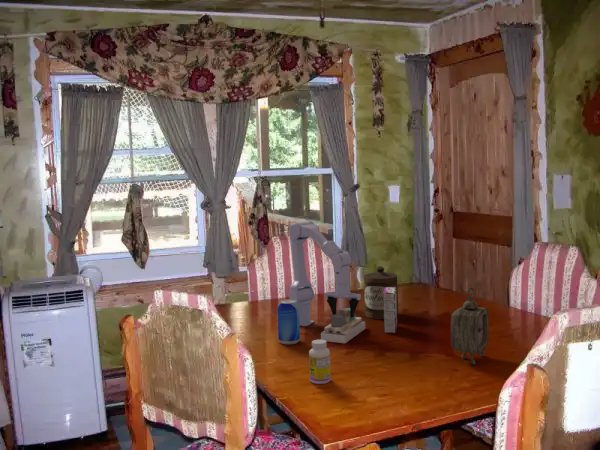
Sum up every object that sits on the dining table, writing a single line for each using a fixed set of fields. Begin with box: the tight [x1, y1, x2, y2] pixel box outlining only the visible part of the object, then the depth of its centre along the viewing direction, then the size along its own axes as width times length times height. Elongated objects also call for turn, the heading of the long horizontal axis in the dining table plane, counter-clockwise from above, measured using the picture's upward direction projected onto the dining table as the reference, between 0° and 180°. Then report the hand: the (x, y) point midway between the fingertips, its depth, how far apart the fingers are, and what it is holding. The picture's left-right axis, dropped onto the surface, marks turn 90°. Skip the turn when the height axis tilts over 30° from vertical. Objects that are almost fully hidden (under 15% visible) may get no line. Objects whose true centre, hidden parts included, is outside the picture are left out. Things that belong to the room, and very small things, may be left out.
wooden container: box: [363, 266, 399, 320], centre depth 277 cm, size 15×15×22 cm
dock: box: [320, 320, 366, 344], centre depth 249 cm, size 10×22×3 cm, turn 154°
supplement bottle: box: [308, 339, 332, 385], centre depth 197 cm, size 7×7×13 cm
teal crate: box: [344, 307, 356, 321], centre depth 253 cm, size 4×4×4 cm
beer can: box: [276, 298, 301, 345], centre depth 241 cm, size 8×8×16 cm
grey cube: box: [330, 313, 345, 327], centre depth 244 cm, size 4×4×4 cm
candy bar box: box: [383, 287, 398, 334], centre depth 254 cm, size 11×5×16 cm, turn 168°
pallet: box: [324, 308, 362, 334], centre depth 249 cm, size 8×19×7 cm, turn 154°
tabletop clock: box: [450, 287, 490, 366], centre depth 213 cm, size 14×9×25 cm, turn 148°
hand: (343, 316), depth 249 cm, fingers open, 7 cm apart
